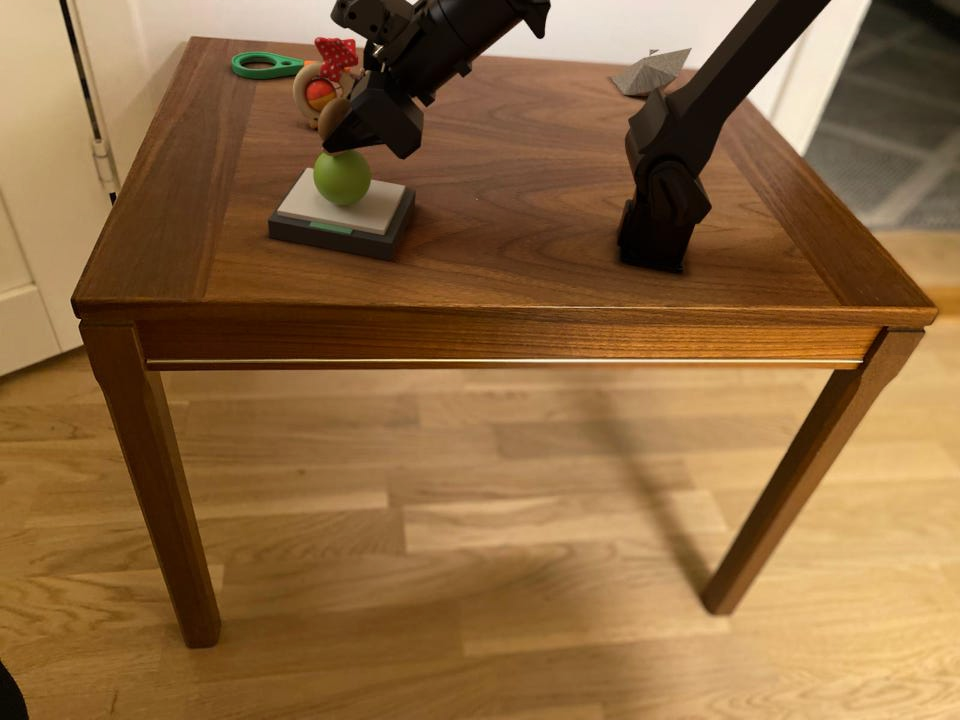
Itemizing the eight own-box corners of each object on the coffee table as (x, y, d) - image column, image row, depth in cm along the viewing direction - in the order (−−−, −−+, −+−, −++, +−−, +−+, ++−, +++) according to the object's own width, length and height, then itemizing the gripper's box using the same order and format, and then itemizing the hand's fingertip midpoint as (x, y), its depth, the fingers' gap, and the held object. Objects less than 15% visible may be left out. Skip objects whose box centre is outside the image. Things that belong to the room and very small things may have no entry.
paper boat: (601, 87, 104) (603, 46, 109) (617, 121, 108) (617, 80, 113) (687, 57, 98) (685, 15, 103) (700, 94, 103) (697, 52, 108)
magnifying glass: (229, 77, 95) (228, 64, 94) (235, 59, 100) (234, 46, 99) (349, 85, 98) (349, 72, 97) (350, 66, 102) (350, 54, 101)
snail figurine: (389, 196, 74) (391, 77, 66) (345, 222, 70) (341, 100, 62) (347, 176, 76) (344, 59, 68) (303, 201, 72) (293, 79, 64)
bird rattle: (317, 156, 87) (388, 128, 87) (271, 69, 80) (349, 38, 79) (315, 132, 92) (383, 105, 91) (271, 47, 84) (345, 17, 83)
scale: (414, 207, 78) (416, 185, 76) (391, 260, 71) (391, 238, 69) (304, 186, 79) (302, 164, 77) (269, 237, 71) (266, 214, 69)
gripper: (402, -89, 64) (282, 28, 71) (380, -23, 50) (234, 115, 57) (483, 16, 70) (365, 115, 77) (483, 101, 56) (339, 212, 63)
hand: (329, 135), depth 68 cm, fingers closed on snail figurine, 5 cm apart
